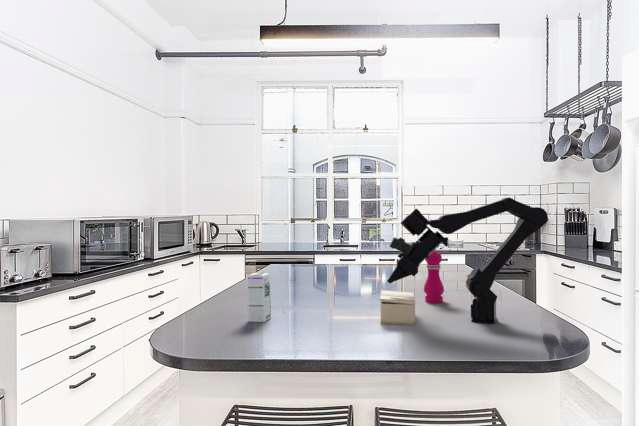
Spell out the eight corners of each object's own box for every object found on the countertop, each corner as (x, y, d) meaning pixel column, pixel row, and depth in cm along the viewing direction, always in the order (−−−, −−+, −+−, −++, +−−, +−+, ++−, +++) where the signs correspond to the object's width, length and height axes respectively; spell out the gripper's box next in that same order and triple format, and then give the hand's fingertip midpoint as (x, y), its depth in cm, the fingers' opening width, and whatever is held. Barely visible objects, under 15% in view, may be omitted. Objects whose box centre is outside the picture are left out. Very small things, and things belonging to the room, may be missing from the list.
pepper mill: (442, 299, 173) (441, 246, 173) (445, 303, 166) (444, 247, 165) (422, 299, 173) (421, 246, 173) (425, 303, 166) (424, 247, 166)
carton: (413, 314, 150) (412, 295, 149) (415, 324, 136) (414, 304, 136) (381, 313, 151) (381, 295, 151) (380, 324, 137) (380, 303, 137)
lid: (412, 295, 150) (413, 292, 150) (415, 304, 135) (415, 301, 135) (381, 292, 151) (381, 289, 151) (379, 301, 137) (380, 298, 137)
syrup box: (265, 322, 142) (264, 275, 142) (247, 321, 143) (246, 274, 143) (271, 318, 147) (270, 272, 147) (253, 317, 148) (252, 272, 148)
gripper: (404, 227, 152) (370, 260, 154) (406, 229, 134) (368, 267, 135) (429, 250, 151) (395, 284, 153) (434, 256, 132) (395, 294, 134)
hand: (388, 282), depth 144 cm, fingers closed
